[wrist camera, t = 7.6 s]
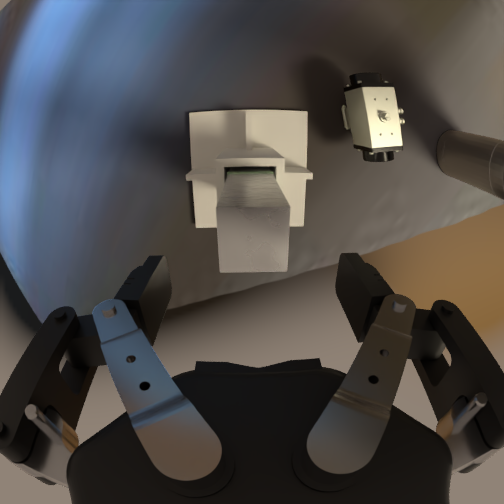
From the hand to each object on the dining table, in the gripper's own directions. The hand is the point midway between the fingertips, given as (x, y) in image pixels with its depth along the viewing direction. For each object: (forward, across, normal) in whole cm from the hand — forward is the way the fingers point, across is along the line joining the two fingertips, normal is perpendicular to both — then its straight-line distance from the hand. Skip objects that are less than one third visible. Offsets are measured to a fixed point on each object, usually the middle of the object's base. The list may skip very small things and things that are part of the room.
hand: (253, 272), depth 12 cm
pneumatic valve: (+31, -16, -9) cm, 36 cm away
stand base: (+31, 0, 0) cm, 31 cm away
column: (+23, 0, 0) cm, 23 cm away
